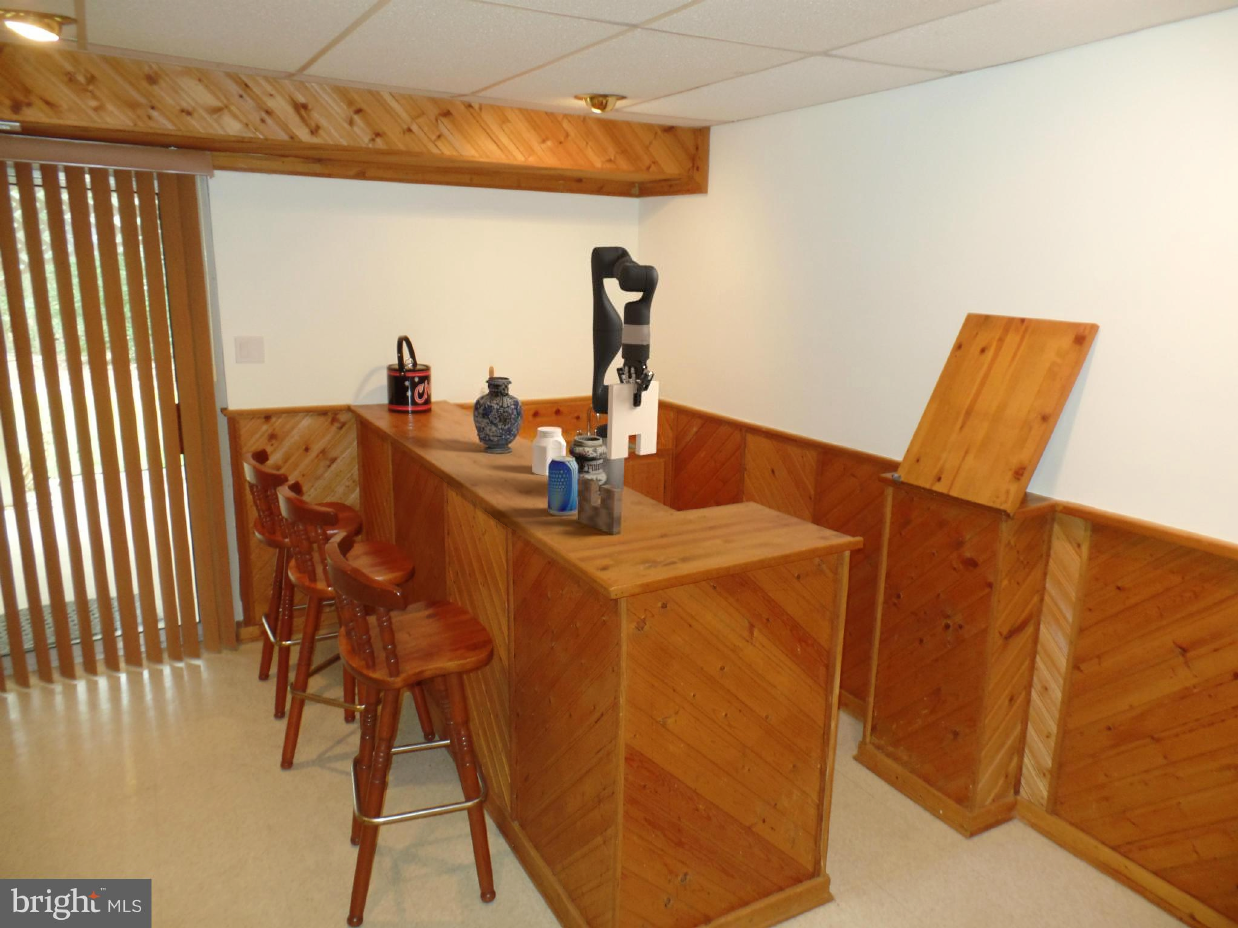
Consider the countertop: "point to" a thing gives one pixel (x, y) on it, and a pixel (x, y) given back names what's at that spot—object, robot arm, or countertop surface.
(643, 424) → the cream plate
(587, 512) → the walnut notched block
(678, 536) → the countertop surface
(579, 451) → the apothecary jar
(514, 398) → the decorative vase
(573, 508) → the beer can
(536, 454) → the jar
